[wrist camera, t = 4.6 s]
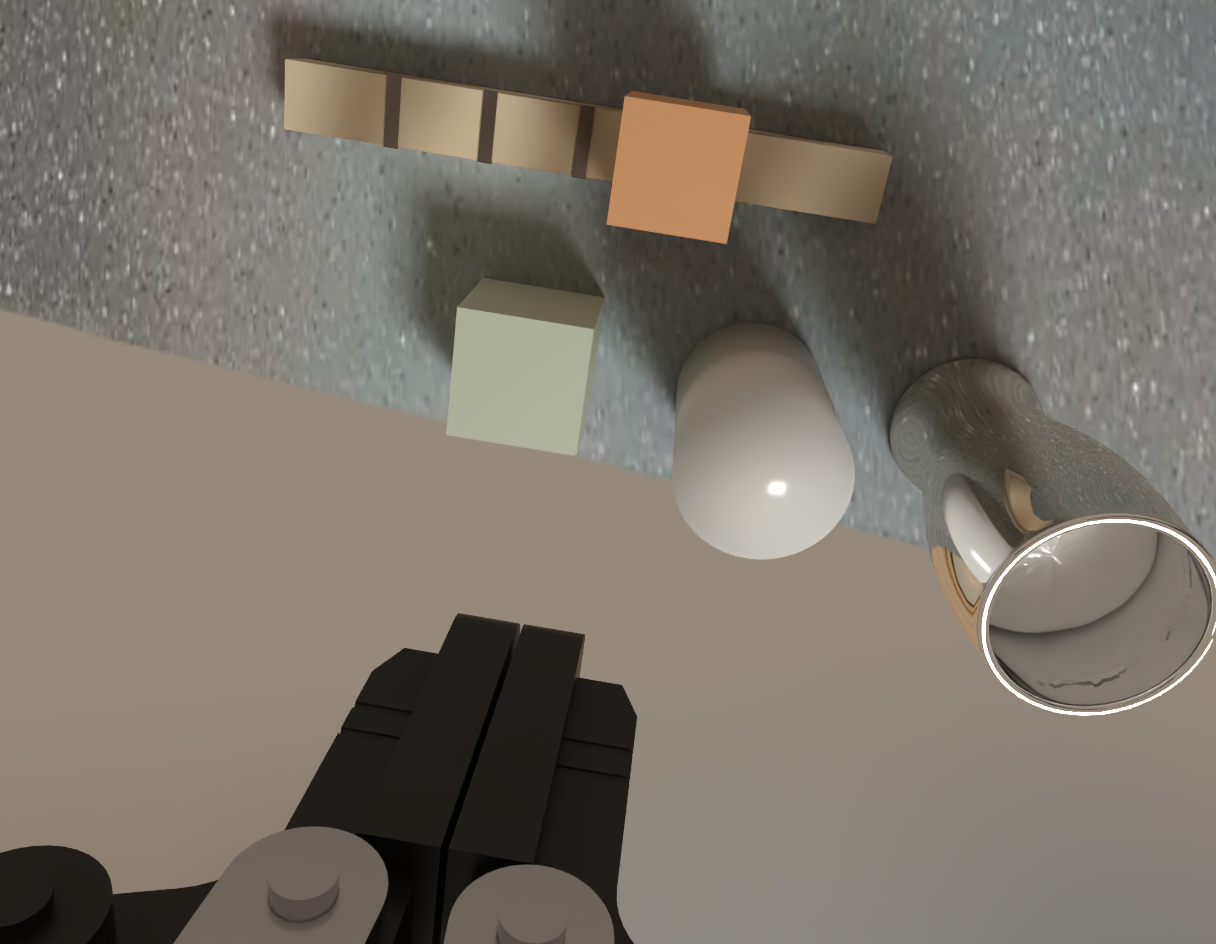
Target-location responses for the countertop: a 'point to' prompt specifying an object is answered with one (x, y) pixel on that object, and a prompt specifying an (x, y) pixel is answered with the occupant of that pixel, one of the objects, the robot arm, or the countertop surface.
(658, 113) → the block
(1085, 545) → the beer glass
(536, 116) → the rail
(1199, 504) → the countertop surface
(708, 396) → the grey rounded cylinder
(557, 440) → the sage block
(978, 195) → the countertop surface
